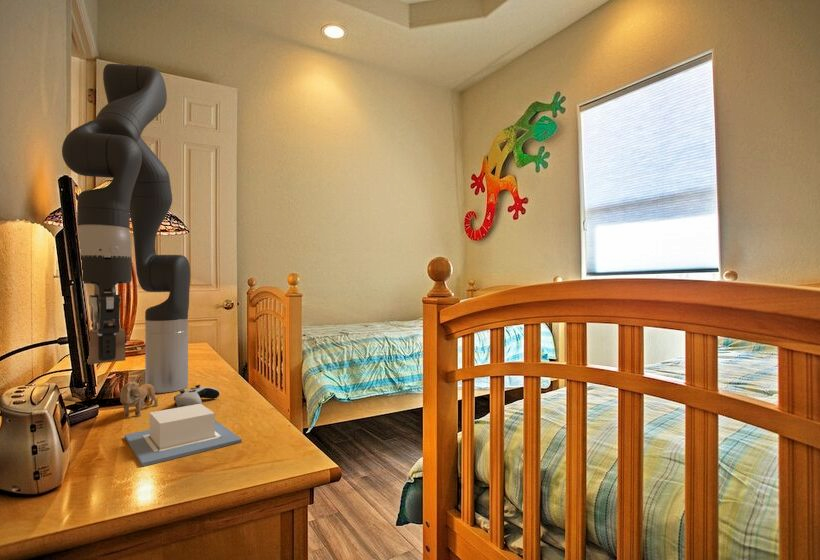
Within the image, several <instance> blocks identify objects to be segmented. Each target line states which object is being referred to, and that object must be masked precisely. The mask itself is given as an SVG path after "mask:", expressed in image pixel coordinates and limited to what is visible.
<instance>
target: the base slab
mask: <svg viewBox="0 0 820 560" xmlns="http://www.w3.org/2000/svg"><path fill="white" fill-rule="evenodd" d="M215 415H216V413H215V412H214V411H212V410H211V409H210V408H208V407H207V406H205V405H204V404H203V403H202V404H195V405H190V406H185V405H183V406H182V407H174V408H168V409H167V408H166V409H163V410H155V411H150V412H149V430H150V437H151V439H152V440H153V441H154V442H155V444H156V445H157V446H158V448H159V449H160V450H161V449H166V448H170V447H174V446H179V445H183V444H187V443H192V442H196V441H200V440H205V439H209V438H214V437H215V420H216V419H215V418H216V416H215Z"/></svg>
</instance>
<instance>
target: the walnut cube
mask: <svg viewBox="0 0 820 560" xmlns="http://www.w3.org/2000/svg"><path fill="white" fill-rule="evenodd" d="M89 330H90V332H89V335H90V340H89V341H90V345H89V347H90V351H89V356H88V359H87V363H88V365H96V364H106V363H114V362H123V361H124V362H125V361H126V330H125V329H123V328H122V327H119V332H118V333H117V336H116V357H115V359H113V360H105V361H101V360H99V355H98V335H97V332H98V329H95V330H93V329H89ZM87 363H86V364H87Z"/></svg>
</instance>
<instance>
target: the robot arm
mask: <svg viewBox="0 0 820 560" xmlns="http://www.w3.org/2000/svg"><path fill="white" fill-rule="evenodd" d="M102 81H103V86H104V87H103V88H104V92H105V97H106V100H107V104H105V106H103V107H102V108H101V109H100V111H99V112H98V113H97V115H96V116H95V118H94V119H93V120H91V121H88V122H86V123H84V124H82V125H79V126H77V127H75V128H74V129H72V130H71V131H70V132H69V133H68V134H67V135H66V137H65V138H64V141H63V143H62V146H61V153H62V154H61V155H62V159H63V161H64V163H65V166H67V168H69V169H70V171H72V172H73V173H75V174H77V175H79V176H83V177H93V178H109V179H110V178H111V179H112V180H111V181H110V182H109V183H108V185H106V186H104V187H100V188H99V187H98V188H94V189H93V188H92V189H87V190H83V191H81V192H80V193H79V194H78V196H77V228H78V233H79V241H80V249H81V260H82V270H83V281H84V284H88V285H89V284H91V285H93V286H94V290H93V291H94V292H93V294H90V295H89V296H88V304H89V305H88V306H90V314H89V317H90V322H91V328H92V330H95V329H98V332H97V335H98V355H99V360H101V361H105V360H113V359H115V357H116V336H117V333H118V332H119V328H120V320H121V319H120V318H121V315H120V314H121V311H120V305H121V302H122V301H121V300H122V296H121V294H117V289H116V285H118V284H129V283H131V282H132V280H133V279H132V278H133V276H132V275H133V273H132V272H133V270H132V268H133V267H132V264H133V263H132V262H133V261H132V255H133V254H132V248H133V247H132V238H133V246H134V256H135V257H134V261H135V270H136V277H137V281H138V284H139V286H140V289H142V290H143V291H144V292H147V293H169V295H168V297H167V299H165V300H164V301H163V302H161V303H159V304H155V305H154V306H150V307H148V308H146V310H145V312H144V317H145V318H144V320H145V321H144V322H145V323H144V325H145V327H144V328H145V329H144V333H145V340H144V341H145V350H144V352H145V356H144V357H145V361H144V362H145V363H144V365H145V367H144V368H145V369H144V373H145V375H144V376H145V379H144V380H145V382H144V384H151V385H152V386H153V387H154V391H155V394H163V393H171V392H172V393H173V392H177V391H182V390H185V389H187V388H189V310H190V309H189V308H190V289H191V288H190V286H191V267H190V262H189V259H188V258H187V257H186V256H185V255H182V254H157V253H156V252H157V251H156V238H157V235H158V231H159V229H160V227H161V226H162V224H163V221H164V220H165V218H166V216H168V213H169V211H170V209H171V207H172V203H173V194H172V186H171V185H172V184H171V181H170V174H169V171H168V169H167V168H166V166H165V165H164V163H163V162H162V161H161V160H160V159H159V157H158V156H157V155H156V154H155V153H154V152H153V150H152V149H151V148H150V147H149V146H148V143H146V142H145V140H144V139H143V138H142V133H143V131H144V129H145V128H147V126H148V125H149V124H150V123H152V121H154V120H155V119H156V117H158V115H160V114H161V113H162V111H164V109H165V108H166V105H167V101H168V97H167V96H168V94H167V93H168V92H167V88H166V87H167V86H166V82H165V80H164V77H163V75H162V74H161V72H160V71H159V70H158V69H156V68H154V67H152V66H151V67H150V66H146V65H145V66H144V65H134V64H122V63H107V64H106V65H105V66H104V68H103V71H102ZM130 222H131V224H130ZM130 226H131V228H132V229H131V230H132V236H133V237H132V238H131V230H130Z"/></svg>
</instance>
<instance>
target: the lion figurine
mask: <svg viewBox="0 0 820 560" xmlns="http://www.w3.org/2000/svg"><path fill="white" fill-rule="evenodd" d="M147 396H148V397H149V398H150V401H149V405H152V407H153V408H157V407H158V406H159V403H158V397H156V393H155V391H154V387H153V386H152V385H151V384H145V383H144V384H141V385H140V383H138V382H135V381H129V382H127V383H125V384H124V385H122V388H121V389H120V393H119V399H120V400H119V402H120V403H121V404H122V405H123V410H124V415H123V416H122V418H123V419H127V418H129V417H130V408H131V407H135V413H134V415H135V416H134V417H135V418H138V417H139V418H140V417H142V415H141V410H142V409H143V407H144V405H145V399H146V397H147ZM153 403H154V404H153Z"/></svg>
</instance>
